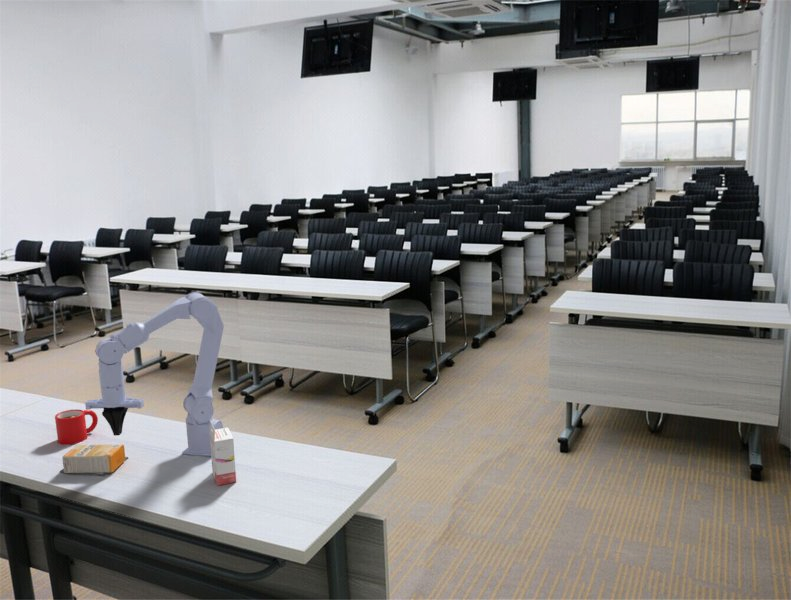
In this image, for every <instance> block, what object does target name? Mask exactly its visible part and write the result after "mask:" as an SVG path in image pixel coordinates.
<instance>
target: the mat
mask: <svg viewBox="0 0 791 600" xmlns="http://www.w3.org/2000/svg"><path fill="white" fill-rule="evenodd" d="M128 459H129V457H128V456H125V461H127V460H128ZM59 473H60V474H65V473H64V468H62V469H61V470H59ZM109 473H110V472H99V473H70V474H71V475H72V474H73V475H86V476H99V477H105V476H106V475H108V474H109Z"/></svg>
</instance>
